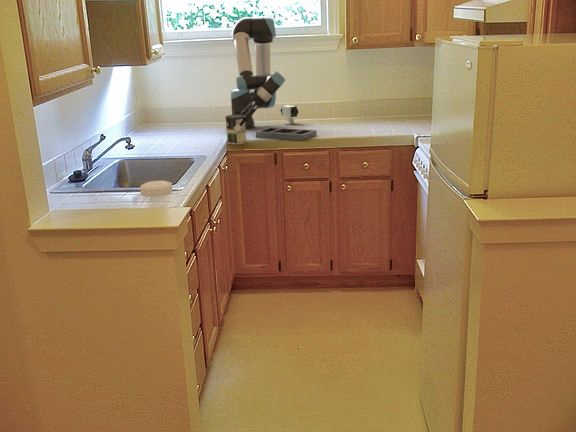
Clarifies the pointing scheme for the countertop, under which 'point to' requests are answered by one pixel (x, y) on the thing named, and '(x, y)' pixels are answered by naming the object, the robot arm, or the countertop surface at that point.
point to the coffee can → (232, 134)
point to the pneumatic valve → (289, 113)
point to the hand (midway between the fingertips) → (234, 127)
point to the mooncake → (156, 188)
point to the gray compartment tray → (286, 133)
